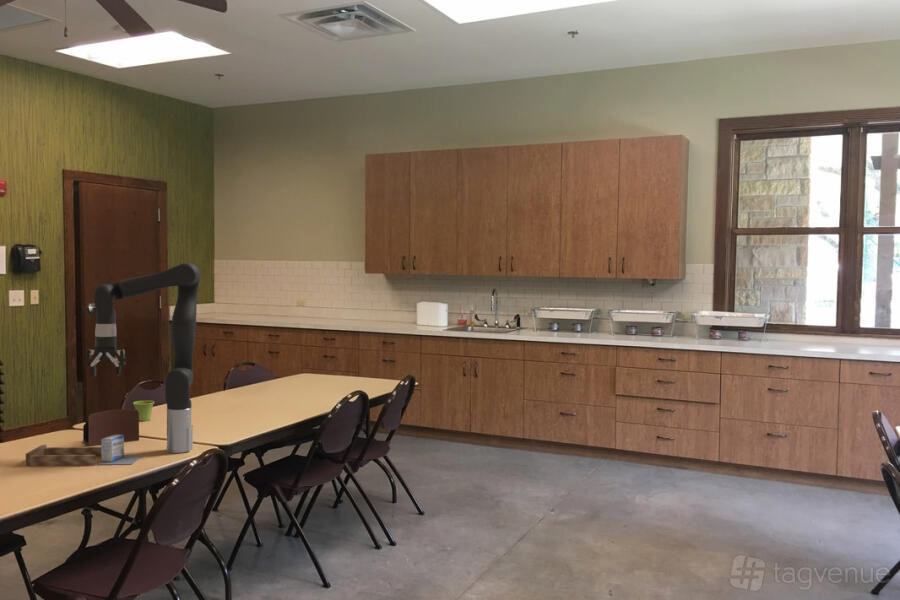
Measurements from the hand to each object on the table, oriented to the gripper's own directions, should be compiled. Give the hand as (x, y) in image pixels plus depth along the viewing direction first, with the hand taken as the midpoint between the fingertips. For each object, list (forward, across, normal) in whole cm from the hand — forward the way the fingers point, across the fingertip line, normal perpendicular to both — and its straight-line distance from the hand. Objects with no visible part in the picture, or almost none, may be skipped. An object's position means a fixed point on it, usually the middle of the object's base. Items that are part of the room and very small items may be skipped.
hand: (105, 376), depth 291 cm
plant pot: (+30, +2, -61) cm, 69 cm away
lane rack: (+30, +9, +14) cm, 34 cm away
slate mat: (+30, -10, +14) cm, 35 cm away
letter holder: (+30, +3, -18) cm, 36 cm away
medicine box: (+30, -7, +14) cm, 34 cm away
